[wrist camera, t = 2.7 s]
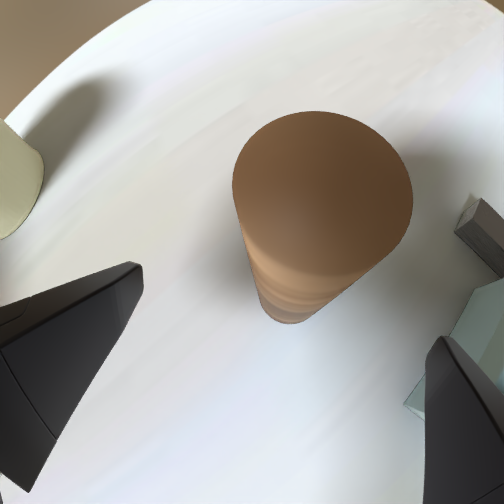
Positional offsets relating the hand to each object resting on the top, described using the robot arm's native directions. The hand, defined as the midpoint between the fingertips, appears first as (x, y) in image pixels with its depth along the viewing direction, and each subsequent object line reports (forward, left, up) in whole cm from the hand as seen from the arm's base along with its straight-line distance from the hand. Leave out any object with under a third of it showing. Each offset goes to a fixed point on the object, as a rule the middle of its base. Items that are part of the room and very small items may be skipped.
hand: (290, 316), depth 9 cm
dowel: (+2, -1, -10) cm, 10 cm away
